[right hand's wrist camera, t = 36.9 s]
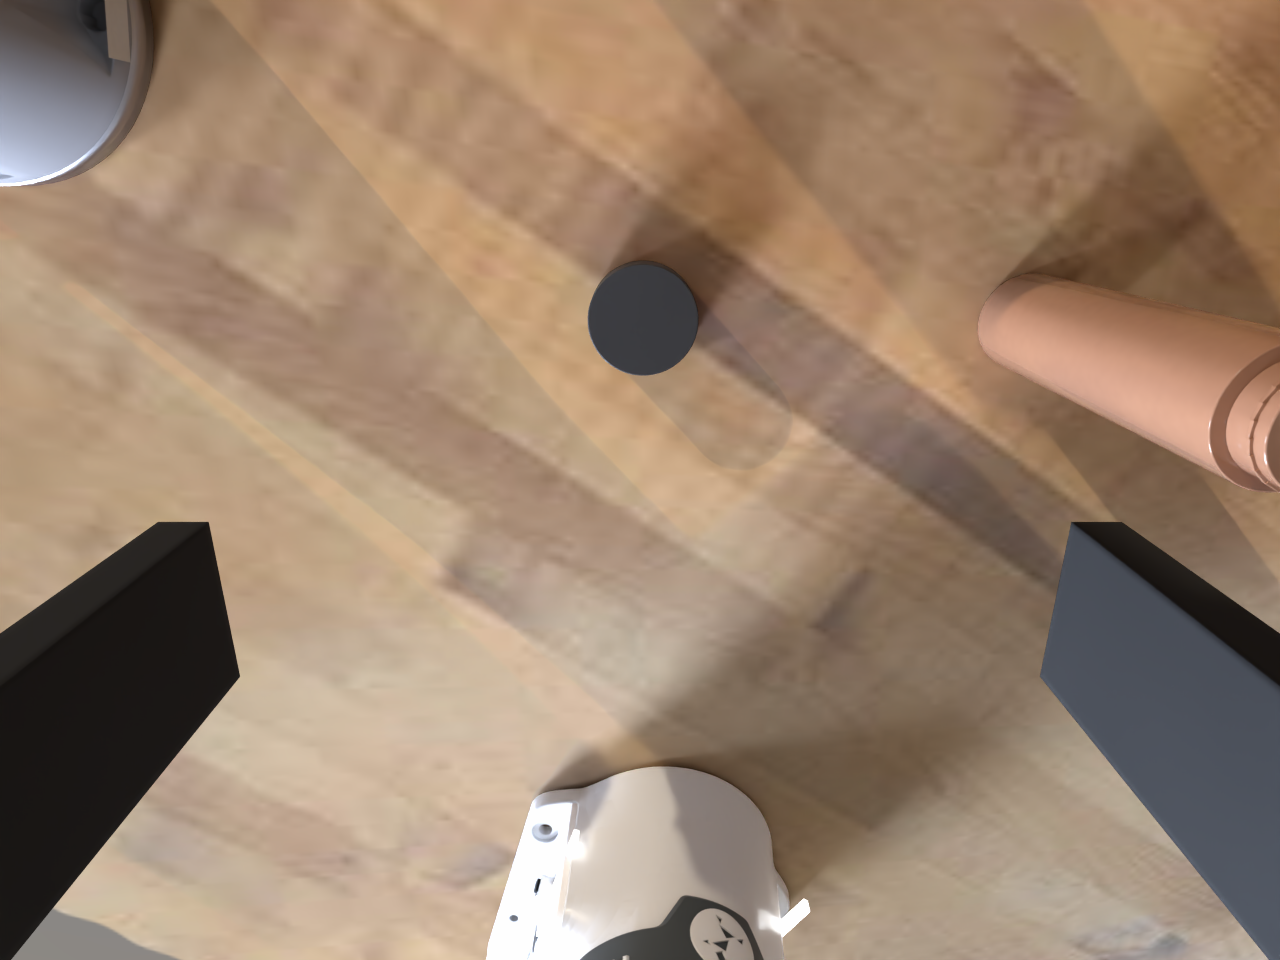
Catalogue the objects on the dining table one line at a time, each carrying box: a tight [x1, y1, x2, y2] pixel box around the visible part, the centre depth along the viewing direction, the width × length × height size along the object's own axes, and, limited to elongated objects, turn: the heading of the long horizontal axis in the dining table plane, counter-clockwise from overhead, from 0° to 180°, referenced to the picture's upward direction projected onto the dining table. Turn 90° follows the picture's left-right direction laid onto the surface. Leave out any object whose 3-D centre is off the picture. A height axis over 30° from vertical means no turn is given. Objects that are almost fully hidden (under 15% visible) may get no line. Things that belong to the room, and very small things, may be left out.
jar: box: [978, 273, 1280, 493], centre depth 32 cm, size 5×5×20 cm
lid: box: [588, 261, 698, 375], centre depth 40 cm, size 5×5×2 cm
